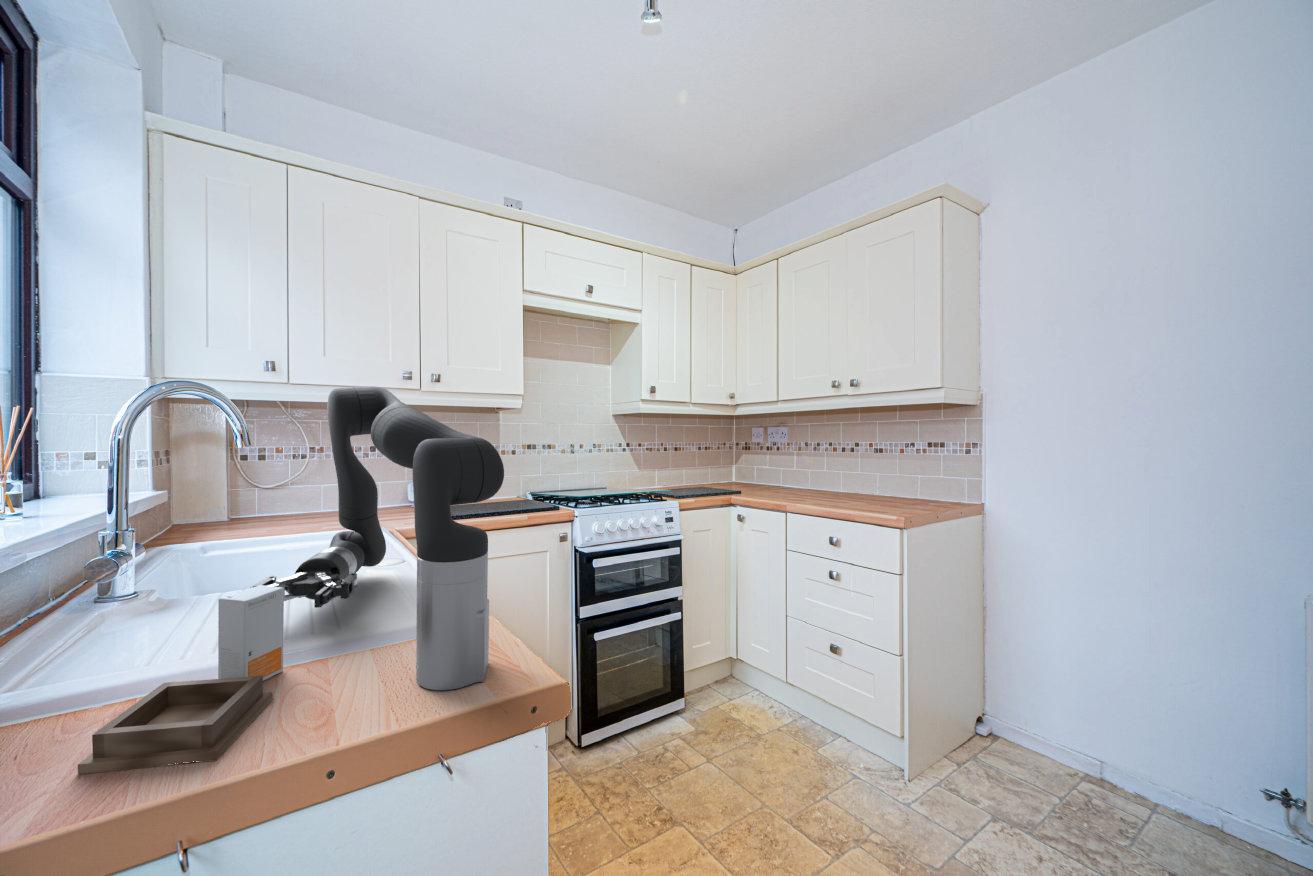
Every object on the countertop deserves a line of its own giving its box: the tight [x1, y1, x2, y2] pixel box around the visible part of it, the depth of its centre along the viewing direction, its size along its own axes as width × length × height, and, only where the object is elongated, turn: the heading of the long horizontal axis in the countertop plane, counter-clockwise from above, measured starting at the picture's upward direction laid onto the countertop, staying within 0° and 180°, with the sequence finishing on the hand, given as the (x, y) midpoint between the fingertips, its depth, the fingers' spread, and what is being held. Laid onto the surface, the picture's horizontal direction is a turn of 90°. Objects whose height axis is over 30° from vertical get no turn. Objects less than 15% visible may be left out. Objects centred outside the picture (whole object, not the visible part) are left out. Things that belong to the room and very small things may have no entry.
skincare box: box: [217, 585, 285, 682], centre depth 72 cm, size 6×4×12 cm
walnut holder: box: [77, 676, 274, 775], centre depth 60 cm, size 12×12×4 cm
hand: (286, 603), depth 81 cm, fingers open, 8 cm apart
